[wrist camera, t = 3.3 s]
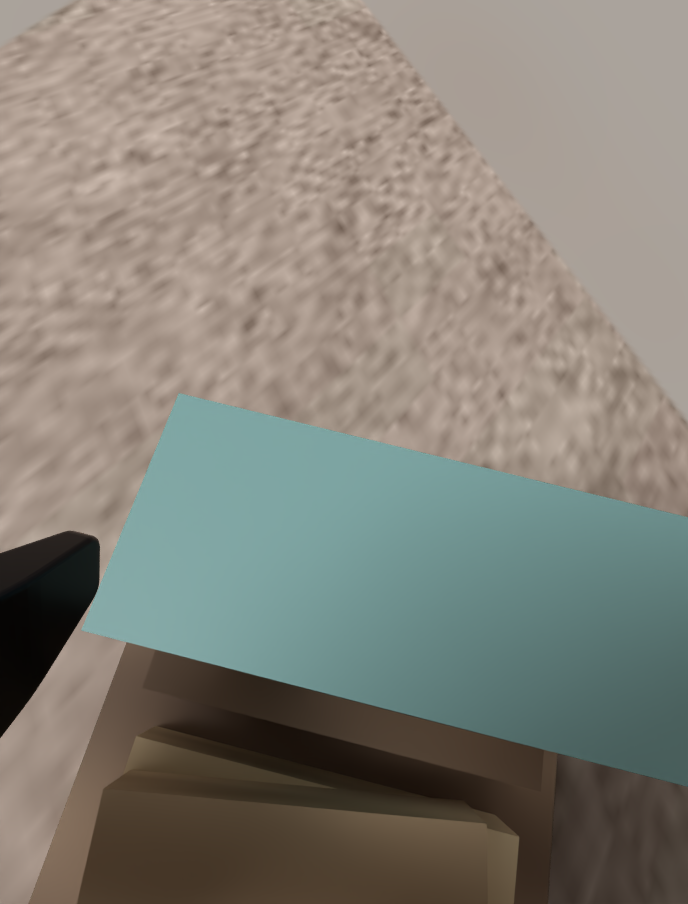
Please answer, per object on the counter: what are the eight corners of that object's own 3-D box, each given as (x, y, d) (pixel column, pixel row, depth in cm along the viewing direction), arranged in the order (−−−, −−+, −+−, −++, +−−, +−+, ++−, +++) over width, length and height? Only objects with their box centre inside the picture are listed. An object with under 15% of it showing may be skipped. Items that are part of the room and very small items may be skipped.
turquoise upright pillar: (443, 692, 14) (839, 826, 3) (249, 642, 14) (81, 630, 4) (454, 617, 14) (806, 546, 4) (270, 571, 15) (179, 393, 4)
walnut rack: (507, 1147, 11) (592, 1364, 8) (6, 1008, 12) (-119, 1157, 8) (551, 581, 16) (615, 563, 13) (195, 492, 16) (165, 452, 13)
